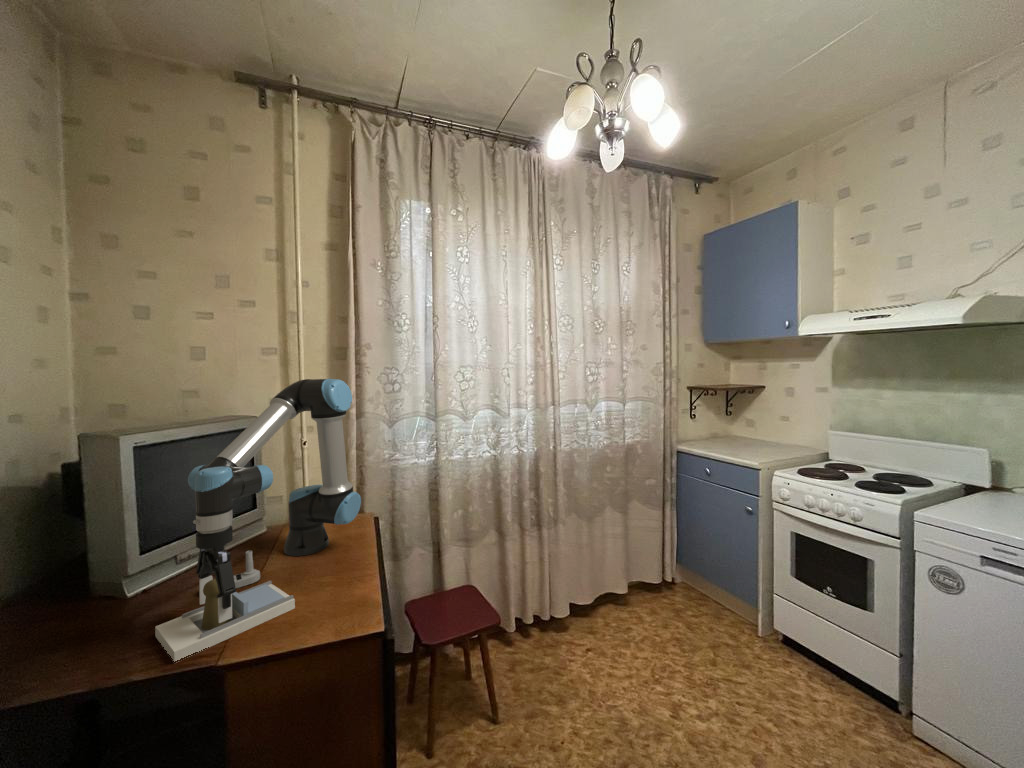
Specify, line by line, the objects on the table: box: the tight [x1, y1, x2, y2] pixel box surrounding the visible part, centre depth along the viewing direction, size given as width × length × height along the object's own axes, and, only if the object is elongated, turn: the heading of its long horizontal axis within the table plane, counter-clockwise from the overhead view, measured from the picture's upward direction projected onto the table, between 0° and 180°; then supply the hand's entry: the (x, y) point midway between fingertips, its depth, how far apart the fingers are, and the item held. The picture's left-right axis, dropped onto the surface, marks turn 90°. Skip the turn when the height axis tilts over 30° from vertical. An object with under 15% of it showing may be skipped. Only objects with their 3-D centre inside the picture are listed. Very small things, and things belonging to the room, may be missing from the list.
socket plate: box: [154, 580, 296, 663], centre depth 102 cm, size 26×16×3 cm, turn 144°
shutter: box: [232, 584, 285, 616], centre depth 107 cm, size 10×12×4 cm
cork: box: [201, 578, 230, 630], centre depth 100 cm, size 6×6×11 cm
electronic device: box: [233, 550, 261, 589], centre depth 120 cm, size 5×10×15 cm
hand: (215, 610), depth 100 cm, fingers open, 13 cm apart
